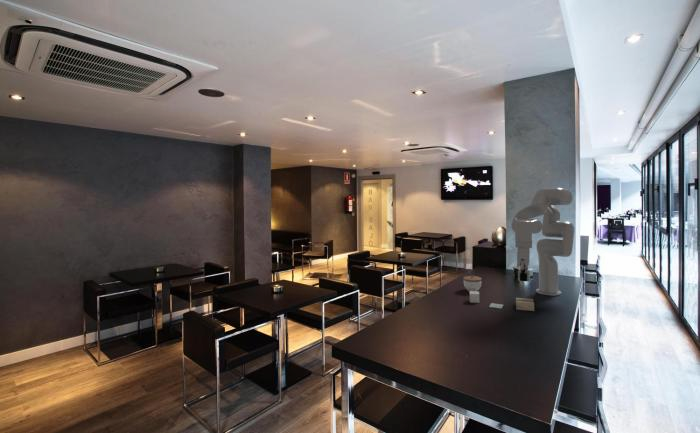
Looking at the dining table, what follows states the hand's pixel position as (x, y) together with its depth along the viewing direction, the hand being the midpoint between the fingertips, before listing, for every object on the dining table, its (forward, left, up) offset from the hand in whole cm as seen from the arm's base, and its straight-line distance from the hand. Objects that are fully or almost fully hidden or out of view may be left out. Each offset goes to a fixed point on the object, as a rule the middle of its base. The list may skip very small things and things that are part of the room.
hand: (524, 279), depth 171 cm
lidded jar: (-21, -31, -15) cm, 40 cm away
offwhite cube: (0, -25, -15) cm, 29 cm away
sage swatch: (+4, -13, -15) cm, 20 cm away
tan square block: (0, 0, -15) cm, 15 cm away
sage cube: (0, 0, -1) cm, 1 cm away
